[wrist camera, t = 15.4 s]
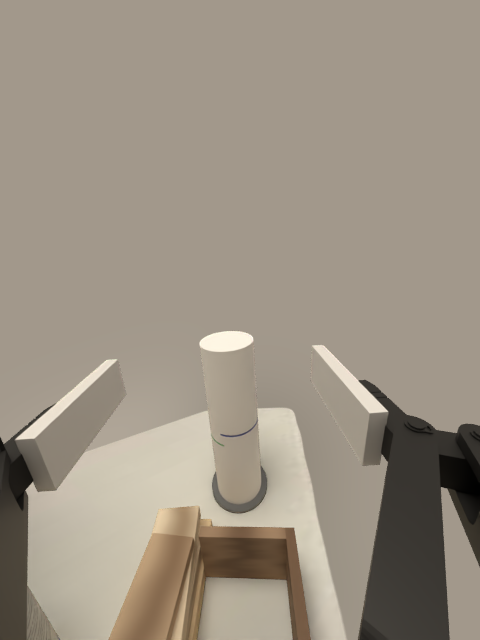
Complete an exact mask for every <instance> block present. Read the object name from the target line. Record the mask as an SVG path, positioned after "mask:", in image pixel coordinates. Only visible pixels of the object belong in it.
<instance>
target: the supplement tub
mask: <svg viewBox="0 0 480 640" xmlns="http://www.w3.org/2000/svg"><path fill="white" fill-rule="evenodd" d="M27 640H60V639H59V637H58V635H57V634H56V632H55V631H54V629H53V627H52V626H51V624H50V622H49V621H48V619H47V617H46V615H45V614H44V612H43V611H42V609H41V607H40V606H39V604H38V602H37V601H36V599H35V597H34V596H33V594H32V592H31V591H30V589H29V587H28V586H27Z"/></svg>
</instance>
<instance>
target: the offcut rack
mask: <svg viewBox="0 0 480 640" xmlns="http://www.w3.org/2000/svg"><path fill="white" fill-rule="evenodd" d="M200 518H201V514H200V508H199V506H191V507H179V508H167V509H159V510H158V514H157V517H156V521H155V524H154V528H153V531H152V535H151V538H150V541H149V543H148V545H147V548H146V550H145V553H144V555H143V558H142V560H141V562H140V565H139V567H138V570H137V572H136V574H135V577H134V579H133V582H132V584H131V587H130V589H129V591H128V594H127V596H126V599H125V601H124V603H123V606H122V608H121V611H120V613H119V616H118V618H117V620H116V623H115V625H114V628H113V630H112V632H111V635H110V637H109V640H197V635H198V628H199V621H200V614H201V607H202V600H203V593H204V586H205V579H206V577H228V578H256V579H285V580H287V587H288V596H289V606H290V616H291V625H292V635H293V640H311V639H310V632H309V625H308V618H307V612H306V605H305V598H304V591H303V585H302V578H301V571H300V565H299V558H298V551H297V544H296V538H295V531H294V528H274V527H218V526H212V521H211V519H200Z"/></svg>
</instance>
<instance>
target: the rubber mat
mask: <svg viewBox="0 0 480 640" xmlns="http://www.w3.org/2000/svg"><path fill="white" fill-rule="evenodd" d="M260 467H261V466H260ZM212 489H213V494H214V497H215V500H216V501H217V503H218V504H219V505H220V506H221V507H222V508H223V509H225V510H227V511H229V512H232V513H245V512H248V511H250V510H252V509H254V508H255V507H257V506H258V505H259V504H260V503H261V501H262V500H263V498H264V496H265V493H266V490H267V478H266V474H265V472H264V470H263V468H262V467H261V487H260V490H259V492H258V494H257V495H256V497H255V498H253V499H252V500H251V501H249V502H247V503H244V504H233V503H230V502H228V501H226V500H225V499H224V498H223V497H222V496H221V494H220V492H219V489H218V482H217V474H216V472H215V475H214V477H213V482H212Z"/></svg>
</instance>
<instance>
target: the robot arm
mask: <svg viewBox="0 0 480 640" xmlns="http://www.w3.org/2000/svg"><path fill="white" fill-rule="evenodd" d="M311 383H312V384H313V386H314V387H315V389H316V391H317V392H318V394H319V396H320V397H321V399H322V400H323V402H324V404H325V405H326V407H327V409H328V410H329V412H330V414H331V415H332V417H333V418H334V420H335V422H336V424H337V425H338V427H339V428H340V430H341V432H342V433H343V435H344V437H345V438H346V440H347V442H348V443H349V445H350V447H351V448H352V450H353V451H354V453H355V455H356V456H357V458H358V459H359V461H360V463H361V465H362V466H368V465H380V460H381V454H382V455H383V456H384V457H385V459H386V460H387V461H388V466H387V471H386V477H385V483H384V489H383V495H382V501H381V507H380V513H379V519H378V525H377V530H376V536H375V542H374V548H373V554H372V560H371V566H370V572H369V578H368V583H367V590H366V595H365V601H364V607H363V613H362V619H361V625H360V631H359V636H358V640H449V622H448V605H447V587H446V571H445V555H444V537H443V520H442V503H441V487H444V488H447V489H448V491H449V493H450V496H451V498H452V501H453V503H454V506H455V508H456V510H457V513H458V515H459V518H460V520H461V522H462V525H463V527H464V529H465V532H466V535H467V537H468V539H469V542H470V544H471V547H472V549H473V552H474V554H475V556H476V559H477V561H478V563H479V566H480V426H478V425H474V424H463V425H461V426H460V427H459V429H458V432H457V433H451V432H445V431H439V430H436V429H435V428H433V426H431V424H429V423H427V422H426V421H424V420H422V419H420V418H417V417H414V416H409V415H406V414H405V413H404V412H403V411H402V410H401V409H399V407H397V406H396V405H395V404H394V403H393V402H392V401H391V400H390V399H389V398H387V396H386V395H385V394H383V393H381V391H380V390H379V389H378V388H377V387H376V386H375V385H373V384H371V383H370V382H368V381H366V380H359V381H358V380H357V379H356V378H355V377H354V376H353V375H352V374H351V373H350V372H349V371H348V370H347V369H346V368H345V367H344V366H343V365H342V364H341V363H340V362H339V361H338V360H337V359H336V358H335V357H334V356H333V355H332V354H331V353H330V352H329V351H328V349H326V347H324V346H323V345H317V346H312V359H311ZM125 396H126V390H125V387H124V382H123V378H122V374H121V370H120V366H119V362H118V359H114V360H106V361H105V362H104V363H102V364H101V365H100V366H99V367H98V368H97V369H96V370H94V371H93V372H92V373H91V374H90V375H89V376H87V377H86V378H85V379H84V380H83V381H82V382H81V383H79V384H78V385H77V386H76V387H75V388H74V389H73V390H71V391H70V392H69V393H68V394H67V395H66V396H64V397H63V398H62V399H61V400H60V401H59V402H58V403H56V404H54V405H52V406H50V407H49V408H47V409H45V410H44V411H43V412H42V413H40V414H39V415H38V416H37V417H36V419H33V420H32V421H31V422H30V423H29V424H28V425H27V426H25V427H24V428H23V429H22V430H20V431H19V432H18V433H17V434H16V435H14V436H13V437H12V438H11V439H10V440H9V441H7V442H6V443H5V444H3V442H2V440H1V438H0V640H27V556H28V495H27V493H26V491H25V490H26V489H27V488H28V487H29V485H30V484H31V483H32V482H34V485H35V487H36V489H37V491H38V492H42V491H54V490H57V488H58V487H59V486H60V484H61V483H62V482H63V480H64V479H65V478H66V476H67V475H68V473H69V472H70V471H71V469H72V468H73V467H74V465H75V464H76V463H77V461H78V460H79V458H80V457H81V456H82V454H83V453H84V452H85V450H86V449H87V447H88V446H89V445H90V443H91V442H92V441H93V439H94V438H95V437H96V435H97V434H98V433H99V431H100V430H101V428H102V427H103V426H104V424H105V423H106V422H107V420H108V419H109V417H110V416H111V415H112V413H113V412H114V411H115V409H116V408H117V407H118V405H119V404H120V403H121V401H122V400H123V398H124V397H125Z"/></svg>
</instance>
